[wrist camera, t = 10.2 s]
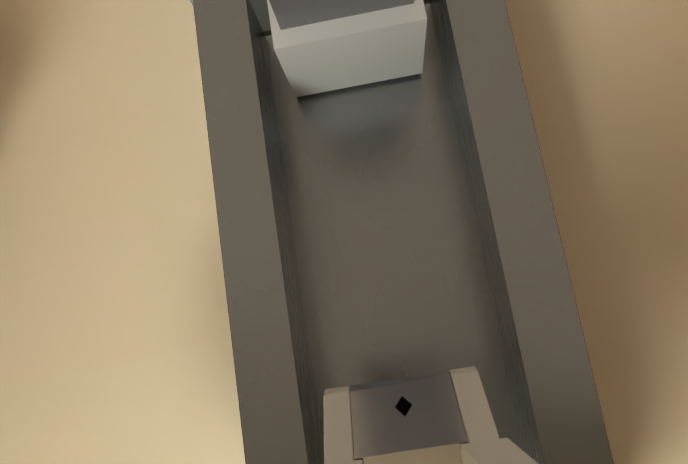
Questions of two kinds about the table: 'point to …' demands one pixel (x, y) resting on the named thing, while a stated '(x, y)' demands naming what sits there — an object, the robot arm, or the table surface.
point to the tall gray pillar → (347, 41)
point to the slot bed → (392, 236)
